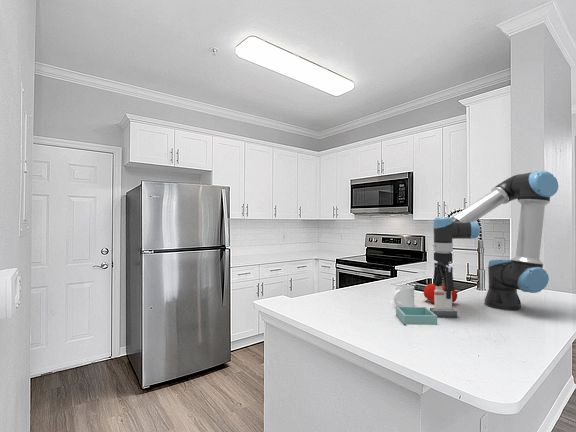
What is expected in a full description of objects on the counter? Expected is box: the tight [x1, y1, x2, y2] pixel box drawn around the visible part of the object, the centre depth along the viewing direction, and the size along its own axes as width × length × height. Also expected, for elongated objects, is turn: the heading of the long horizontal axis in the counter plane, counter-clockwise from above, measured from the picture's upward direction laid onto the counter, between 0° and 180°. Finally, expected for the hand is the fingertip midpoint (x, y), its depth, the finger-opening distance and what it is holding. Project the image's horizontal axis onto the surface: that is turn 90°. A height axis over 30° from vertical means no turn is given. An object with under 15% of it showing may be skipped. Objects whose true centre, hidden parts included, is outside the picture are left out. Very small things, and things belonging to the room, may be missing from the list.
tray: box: [395, 306, 438, 326], centre depth 137 cm, size 13×13×4 cm
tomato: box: [423, 282, 458, 304], centre depth 164 cm, size 14×16×10 cm
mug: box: [393, 283, 415, 307], centre depth 157 cm, size 12×8×10 cm
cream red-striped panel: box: [433, 290, 453, 310], centre depth 143 cm, size 7×1×11 cm, turn 86°
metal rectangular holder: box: [429, 307, 461, 319], centre depth 143 cm, size 12×8×3 cm, turn 86°
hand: (443, 303), depth 143 cm, fingers open, 9 cm apart
